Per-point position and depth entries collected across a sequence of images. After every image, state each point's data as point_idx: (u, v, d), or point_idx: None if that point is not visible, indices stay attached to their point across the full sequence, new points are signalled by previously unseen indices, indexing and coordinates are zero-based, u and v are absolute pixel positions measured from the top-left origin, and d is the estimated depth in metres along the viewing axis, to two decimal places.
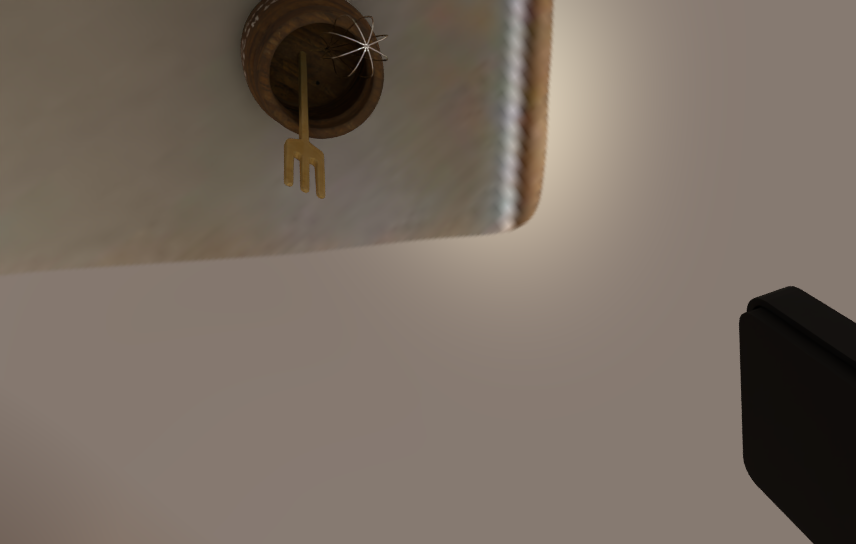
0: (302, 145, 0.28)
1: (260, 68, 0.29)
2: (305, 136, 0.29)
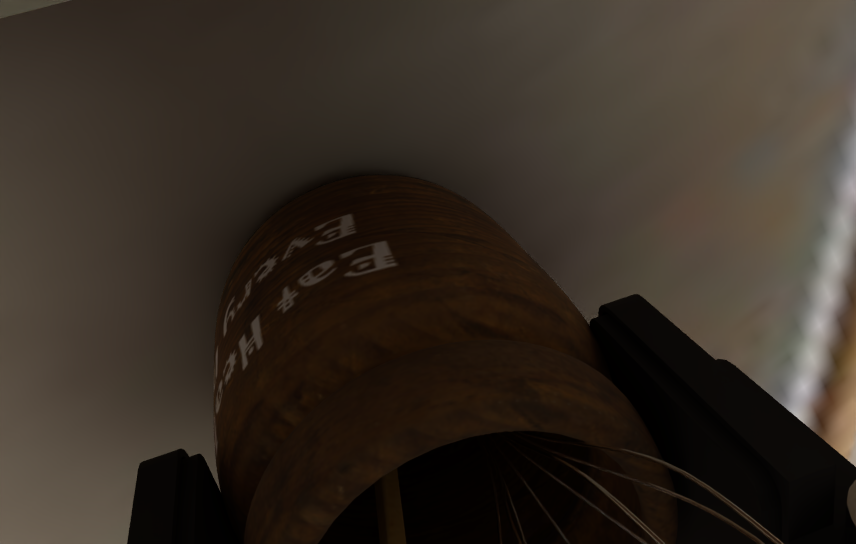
0: None
1: None
2: None
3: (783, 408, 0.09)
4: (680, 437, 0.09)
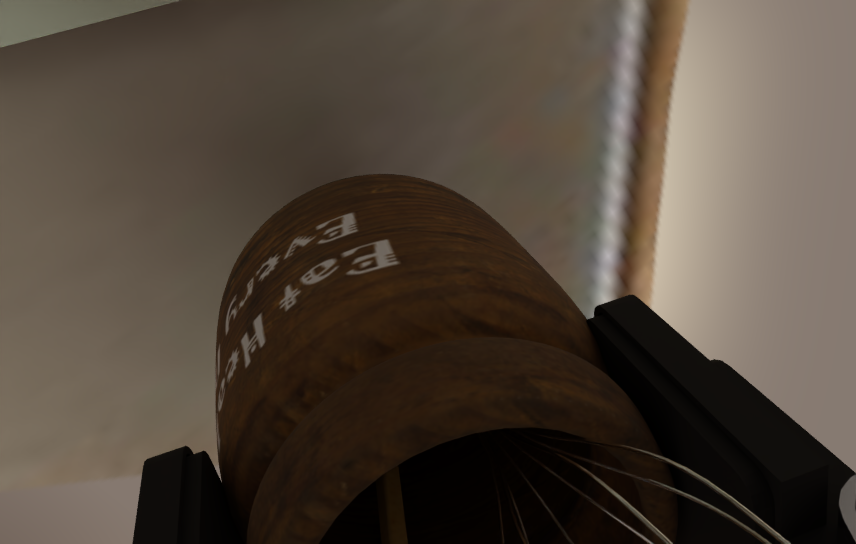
0: None
1: None
2: None
3: (778, 408, 0.09)
4: (675, 437, 0.09)
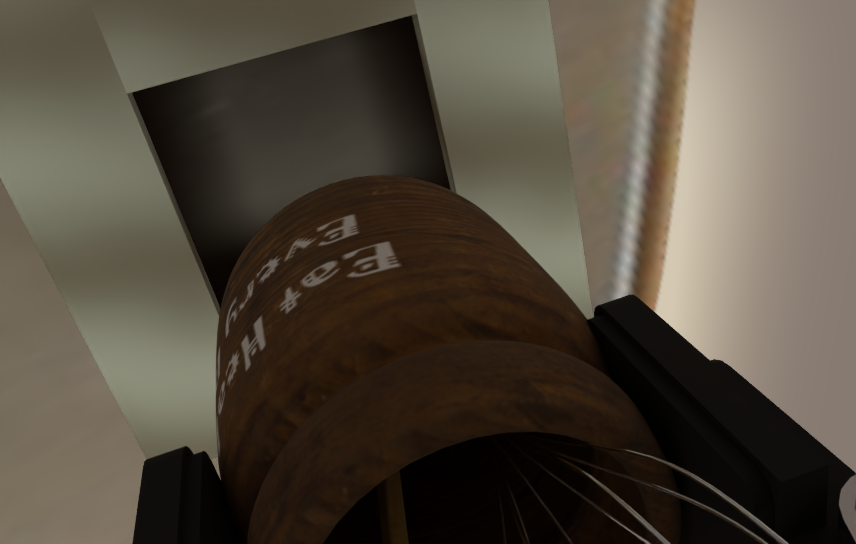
0: None
1: None
2: None
3: (778, 408, 0.09)
4: (675, 437, 0.09)
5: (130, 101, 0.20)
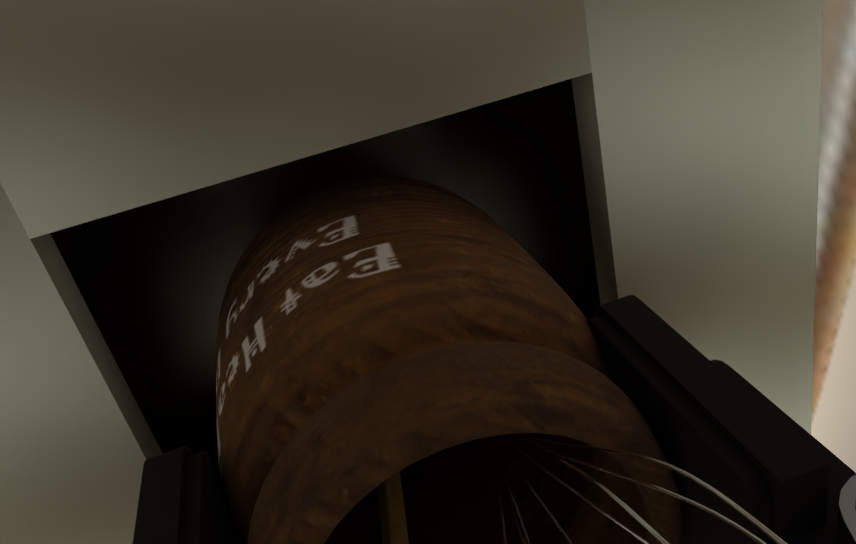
0: None
1: None
2: None
3: (778, 408, 0.09)
4: (674, 437, 0.09)
5: (38, 251, 0.10)
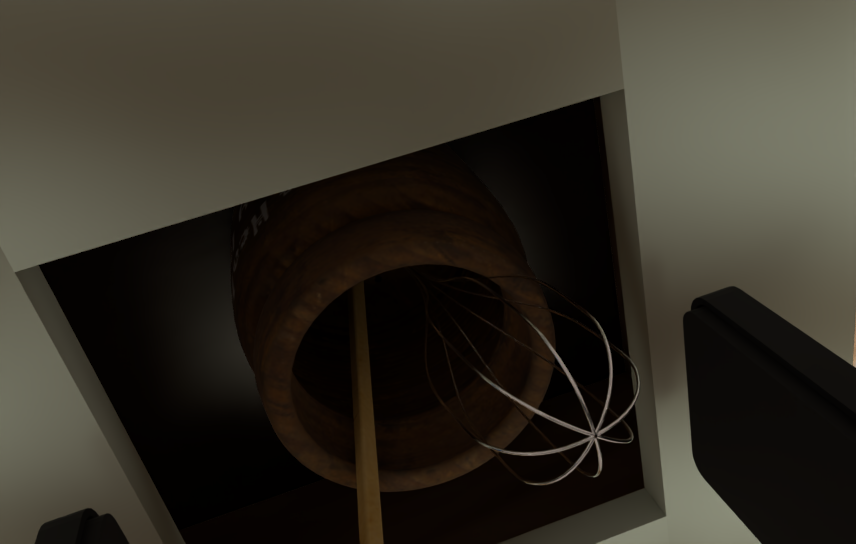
0: None
1: (269, 372, 0.12)
2: (376, 538, 0.12)
3: None
4: (799, 433, 0.08)
5: (24, 285, 0.09)
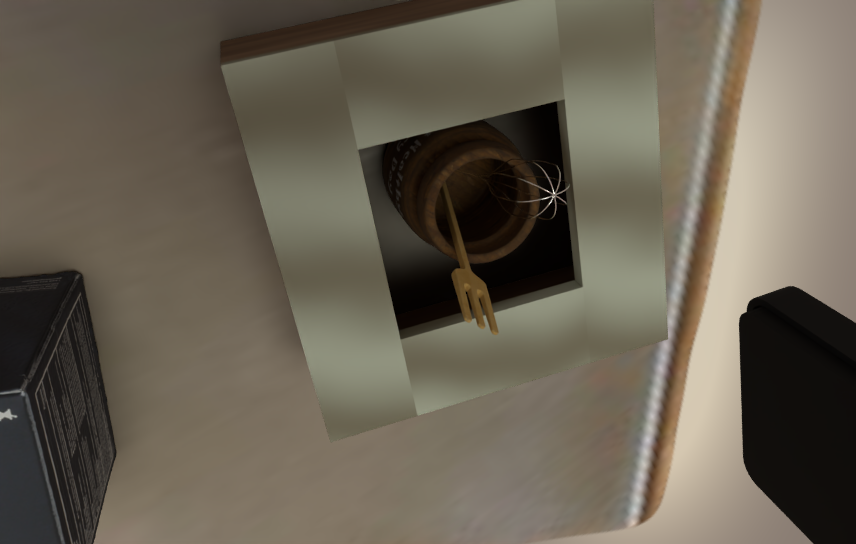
0: (468, 276, 0.29)
1: (429, 197, 0.30)
2: (467, 265, 0.30)
3: None
4: None
5: (358, 155, 0.27)
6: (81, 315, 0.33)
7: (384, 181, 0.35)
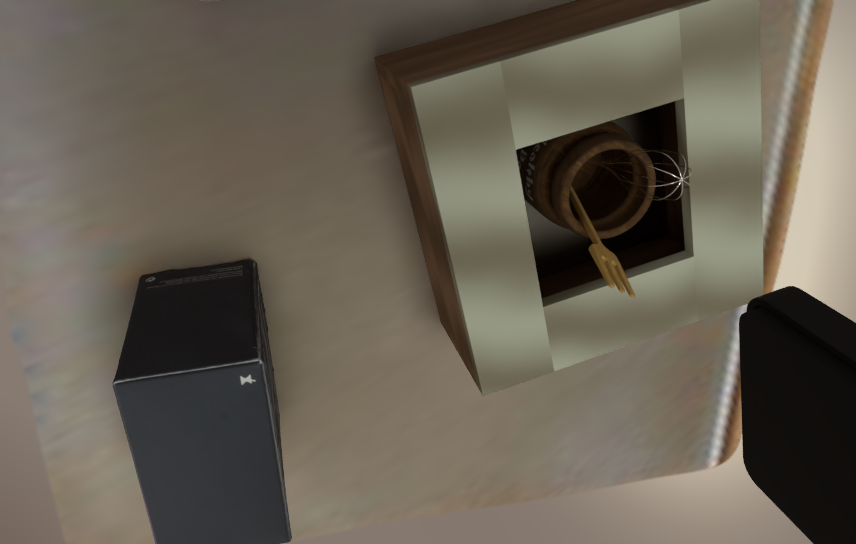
0: (602, 249, 0.34)
1: (565, 184, 0.35)
2: (599, 240, 0.35)
3: None
4: None
5: (515, 154, 0.33)
6: (260, 297, 0.39)
7: None
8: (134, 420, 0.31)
